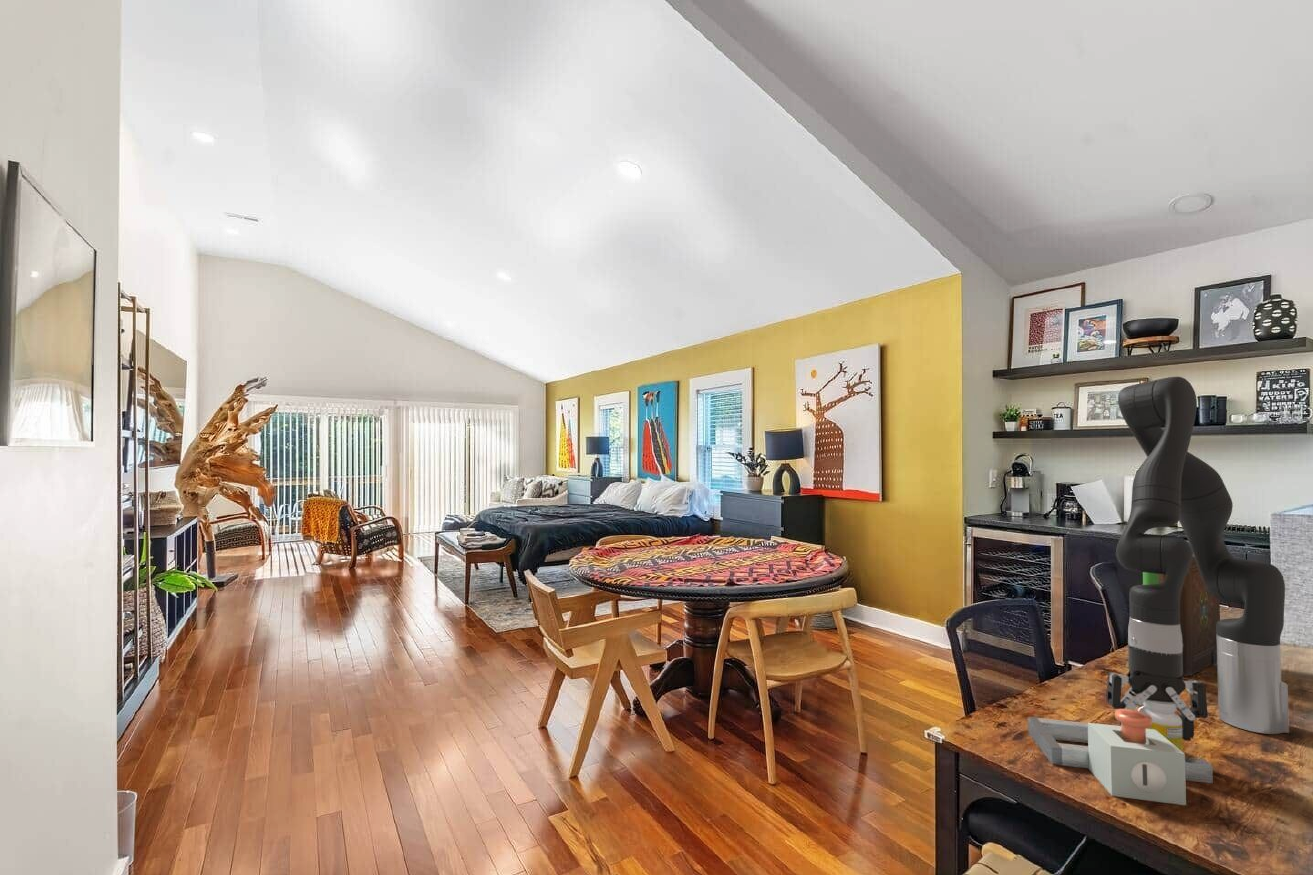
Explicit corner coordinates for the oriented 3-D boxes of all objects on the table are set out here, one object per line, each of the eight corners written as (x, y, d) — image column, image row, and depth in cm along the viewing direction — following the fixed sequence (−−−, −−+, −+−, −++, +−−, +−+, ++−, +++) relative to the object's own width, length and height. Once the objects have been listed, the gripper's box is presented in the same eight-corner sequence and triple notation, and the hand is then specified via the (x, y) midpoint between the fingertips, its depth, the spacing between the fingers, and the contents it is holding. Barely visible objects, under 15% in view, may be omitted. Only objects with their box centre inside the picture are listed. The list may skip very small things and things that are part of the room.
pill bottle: (1128, 753, 109) (1127, 692, 109) (1159, 751, 109) (1158, 691, 109) (1160, 771, 102) (1158, 707, 103) (1193, 769, 103) (1191, 705, 103)
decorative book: (1188, 653, 162) (1185, 543, 162) (1223, 661, 155) (1220, 547, 156) (1153, 670, 149) (1150, 551, 150) (1190, 679, 143) (1187, 555, 144)
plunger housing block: (1156, 776, 101) (1155, 729, 101) (1188, 807, 92) (1186, 755, 92) (1088, 768, 103) (1087, 722, 103) (1113, 797, 95) (1112, 747, 95)
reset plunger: (1142, 734, 100) (1142, 710, 100) (1158, 748, 95) (1158, 723, 95) (1109, 730, 101) (1109, 707, 101) (1123, 744, 96) (1123, 719, 96)
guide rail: (1170, 747, 111) (1169, 731, 111) (1212, 783, 99) (1212, 765, 99) (1028, 732, 117) (1027, 716, 117) (1052, 764, 105) (1051, 746, 105)
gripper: (1189, 642, 108) (1191, 731, 108) (1099, 635, 112) (1100, 721, 112) (1216, 655, 101) (1217, 751, 101) (1118, 647, 105) (1119, 739, 104)
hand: (1155, 735), depth 106 cm, fingers open, 8 cm apart
